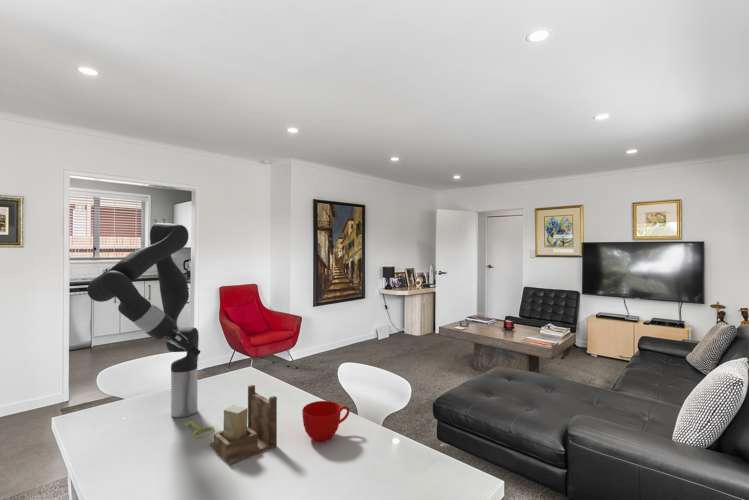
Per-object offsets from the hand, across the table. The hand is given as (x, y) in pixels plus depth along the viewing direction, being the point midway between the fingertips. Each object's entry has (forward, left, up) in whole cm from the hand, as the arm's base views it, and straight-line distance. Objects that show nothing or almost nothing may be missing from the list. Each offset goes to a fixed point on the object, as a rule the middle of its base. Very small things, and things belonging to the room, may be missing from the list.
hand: (193, 351), depth 125 cm
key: (-9, +5, -31) cm, 33 cm away
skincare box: (+12, +8, -30) cm, 33 cm away
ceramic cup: (+26, +35, -31) cm, 53 cm away
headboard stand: (+12, +11, -31) cm, 35 cm away
